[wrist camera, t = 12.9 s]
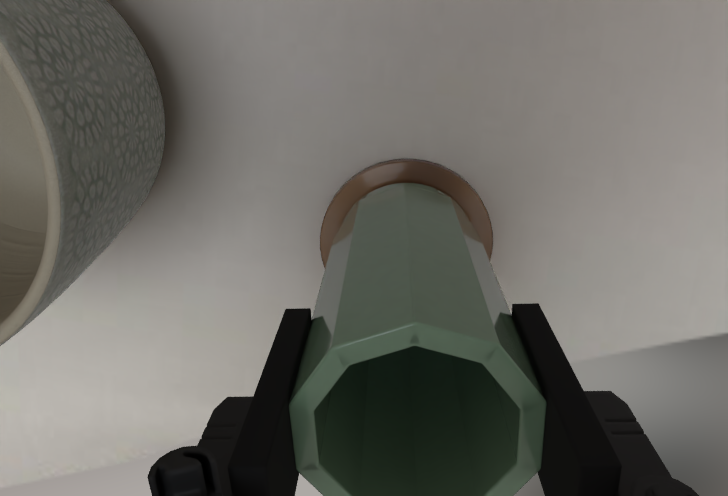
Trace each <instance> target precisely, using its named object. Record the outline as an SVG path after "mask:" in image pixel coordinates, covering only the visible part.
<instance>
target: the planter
mask: <svg viewBox="0 0 728 496" xmlns="http://www.w3.org/2000/svg"><path fill="white" fill-rule="evenodd" d="M164 140H165V117H164V108H163V102H162V97H161V92H160V88H159V85H158V82H157V79H156V76H155V73H154V70H153V68H152V65H151V63H150V61H149V59H148V57H147V55H146V53H145V51H144V49H143V47H142V45H141V44H140V42H139V40H138V39H137V37H136V36H135V34H134V33H133V31H132V30H131V28H130V27H129V26H128V24H127V23H126V22H125V20H124V19H123V18H122V17H121V16H120V14H119V13H118V12H117V11H116V10H115V9H114V8H113V7H112V6H111V5H110V4H109V3H108V2H107V1H106V0H0V346H1V345H2V344H4V343H5V342H6V341H7V340H9V339H10V338H11V337H13V336H14V335H15V334H17V333H18V332H19V331H20V330H22V329H23V328H24V327H25V326H26V325H28V324H29V323H30V322H31V321H32V320H34V319H35V318H36V317H37V316H38V315H39V314H40V313H41V312H42V311H44V310H45V309H46V308H47V307H48V306H49V305H50V304H51V303H52V302H53V301H54V300H55V299H57V298H58V297H59V296H60V295H61V294H62V293H63V292H64V291H65V290H66V289H67V288H68V287H69V286H70V285H71V284H72V283H73V282H74V281H75V280H76V279H77V278H78V277H79V276H80V275H81V274H82V273H83V272H84V271H85V270H86V269H87V268H88V267H89V266H90V265H91V264H92V262H93V261H94V260H95V259H96V258H97V257H98V256H99V255H100V254H101V253H102V252H103V251H104V250H105V249H106V248H107V247H108V246H109V245H110V244H111V242H112V241H113V240H114V239H115V238H116V237H117V236H118V234H119V233H120V232H121V231H122V230H123V229H124V227H125V226H126V225H127V224H128V223H129V221H130V220H131V219H132V217H133V216H134V215H135V213H136V212H137V210H138V209H139V208H140V206H141V205H142V203H143V202H144V200H145V199H146V197H147V195H148V194H149V192H150V190H151V188H152V186H153V184H154V181H155V179H156V176H157V174H158V171H159V167H160V164H161V160H162V154H163V149H164Z"/></svg>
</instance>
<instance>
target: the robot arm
mask: <svg viewBox="0 0 728 496" xmlns="http://www.w3.org/2000/svg"><path fill="white" fill-rule="evenodd" d="M512 317H513V320H514V322H515V325H516V327H517V330H518V332H519V335H520V337H521V340H522V342H523V345H524V347H525V350H526V352H527V354H528V357H529V359H530V362H531V364H532V367H533V369H534V372H535V374H536V377H537V379H538V382H539V384H540V387H541V389H542V391H543V394H544V396H545V399H546V402H547V407H546V419H545V430H544V442H543V453H542V464H541V469H540V470H539V471H538V475H539V478H540V481H541V484H542V488H543V491H544V494H545V496H699V495H698V494H697V493H696V492H695V491H694V490H692V488H690V487H689V486H687V485H685V484H684V483H682V482H680V481H678V480H676V479H673V478H672V477H671V475H670V473H669V472H668V470H667V469H666V467H665V465H664V464H663V462H662V460H661V459H660V457H659V455H658V454H657V452H656V451H655V449H654V447H653V446H652V444H651V442H650V441H649V439H648V437H647V436H646V435H645V434H644V431H643V429H642V428H641V426H640V424H639V423H638V422H636V418H635V416H634V415H633V413H632V411H631V410H630V408H629V407H628V405H627V404H626V403H625V402H624V401H623V400H621V399H620V398H619V397H617V396H616V395H615V394H614V393H612V392H611V391H583V389H582V387H581V385H580V383H579V381H578V379H577V378H576V376H575V374H574V372H573V370H572V368H571V366H570V364H569V362H568V360H567V358H566V356H565V354H564V352H563V350H562V348H561V346H560V344H559V343H558V341H557V339H556V337H555V335H554V333H553V331H552V329H551V327H550V325H549V323H548V321H547V319H546V317H545V315H544V313H543V312H542V310H541V308H540V306H539V304H512ZM310 324H311V310H310V308H309V309H286V310H285V312H284V315H283V318H282V320H281V323H280V326H279V329H278V331H277V334H276V337H275V339H274V342H273V345H272V348H271V350H270V353H269V356H268V358H267V361H266V364H265V367H264V369H263V372H262V375H261V377H260V380H259V383H258V386H257V388H256V391H255V394H254V397H227V398H226V399H225V400H224V401H223V402H222V403H220V404H219V405H218V406H217V407H216V408H215V409H214V410H213V413H212V415H211V417H210V419H209V421H208V423H207V427H206V428H205V430H204V432H203V434H202V439H200V441H199V443H198V445H197V446H188V447H182V448H179V449H176V450H173V451H170V452H169V453H167V454H165V455H164V456H162V457H161V458H159V459H158V460H157V461H156V463H155V464H154V465H153V466H152V467H151V469H150V472H149V474H148V481H149V485H150V489H151V493H152V496H295V491H296V486H297V481H298V476H299V472H298V471H297V470H296V465H295V457H294V448H293V440H292V432H291V423H290V415H289V407H288V405H289V402H290V398H291V394H292V390H293V387H294V383H295V379H296V376H297V372H298V368H299V364H300V361H301V357H302V353H303V350H304V346H305V342H306V338H307V335H308V331H309V327H310Z"/></svg>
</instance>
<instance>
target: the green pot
mask: <svg viewBox="0 0 728 496" xmlns="http://www.w3.org/2000/svg"><path fill="white" fill-rule="evenodd" d="M288 407H289V415H290V423H291V432H292V440H293V448H294V457H295V465H296V470H297V471H298V472H299V473H300V474H301V475H302V476H303V477H304V478H305V479H306V480H308V481H309V482H310V483H311V484H312V485H313V486H314V487H315V488H316V489H317V490H318V491H319V492H320V493H321V494H322V495H323V496H513V495H514V494H515V493H516V492H518V491H519V490H520V489H521V488H522V487H523V486H524V485H525V484H526V483H527V482H528V481H529V480H530V479H531V478H532V477H533V476H534V475H535V474H536V473H537V472H538V471H539V470H540V469H541V464H542V453H543V442H544V430H545V419H546V407H547V402H546V399H545V396H544V394H543V391H542V389H541V387H540V384H539V382H538V379H537V377H536V374H535V372H534V369H533V367H532V364H531V362H530V359H529V357H528V354H527V352H526V350H525V347H524V345H523V342H522V340H521V337H520V335H519V332H518V330H517V327H516V325H515V322H514V320H513V317H512V315H511V313H510V310H509V308H508V305H507V303H506V300H505V298H504V295H503V293H502V290H501V288H500V285H499V283H498V281H497V278H496V276H495V273H494V271H493V268H492V266H491V263H490V261H489V258H488V256H487V253H486V251H485V248H484V246H483V244H482V241H481V239H480V236H479V234H478V232H477V230H476V229H475V228H474V227H473V225H472V224H471V223H470V221H469V219H468V217H467V215H466V214H465V212H464V211H463V209H462V208H461V207H460V206H459V205H458V204H457V203H456V202H455V201H454V200H453V199H452V198H451V197H449V196H448V195H446V194H445V193H443V192H441V191H439V190H437V189H435V188H433V187H430V186H426V185H423V184H416V183H397V184H391V185H387V186H383V187H381V188H378V189H376V190H374V191H372V192H370V193H368V194H367V195H365V196H364V197H362V198H361V199H360V200H359V201H358V202H357V203H355V204H354V205H353V207H352V208H351V209H350V210H349V211H348V213H347V215H346V216H345V218H344V220H343V222H342V224H341V226H340V229H339V230H338V232H337V233H336V234H335V236H334V238H333V242H332V246H331V249H330V253H329V257H328V260H327V264H326V268H325V272H324V275H323V279H322V283H321V286H320V290H319V294H318V298H317V301H316V305H315V309H314V312H313V316H312V320H311V324H310V327H309V331H308V335H307V338H306V342H305V346H304V350H303V353H302V357H301V361H300V364H299V368H298V372H297V376H296V379H295V383H294V387H293V390H292V394H291V398H290V402H289V405H288Z"/></svg>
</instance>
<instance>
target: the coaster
mask: <svg viewBox="0 0 728 496" xmlns="http://www.w3.org/2000/svg"><path fill="white" fill-rule="evenodd" d="M397 183H416V184H423V185H426V186H430V187H433V188H435V189H437V190H439V191H441V192H443V193H445V194H446V195H448V196H449V197H451V198H452V199H453V200H454V201H455V202H456V203H457V204H458V205H459V206H460V207H461V208H462V209H463V211H464V212H465V214H466V215H467V217H468V219H469V221H470V223H471V224H472V225H473V227H474V228H475V229H476V230H477V232H478V234H479V236H480V239H481V241H482V244H483V246H484V248H485V251H486V253H487V256H488V258H489V261H490V258H491V254H492V246H493V234H492V227H491V222H490V219H489V216H488V213H487V211H486V209H485V207H484V205H483V203H482V201H481V199H480V197H479V196H478V194H477V193H476V192H475V190H474V189H473V188H472V187H471V186H470V185H469V184H468V183H467V182H466V181H465V180H464V179H463V178H461V177H460V176H459V175H457V174H456V173H454V172H453V171H451V170H449V169H447V168H445V167H443V166H440V165H438V164H435V163H431V162H428V161H422V160H416V159H399V160H391V161H387V162H382V163H379V164H376V165H374V166H371V167H369V168H367V169H365V170H363V171H361V172H359V173H358V174H357V175H355V176H354V177H352V178H351V179H350V180H349V181H348V182H347V183H345V184H344V185H343V186H342V187H341V189H340V190H339V191H338V192H337V194H336V195H335V196H334V198H333V199H332V201H331V203H330V204H329V207H328V209H327V211H326V214H325V216H324V220H323V224H322V227H321V235H320V250H321V256H322V261H323V264H324V267H325V268H326V264H327V260H328V257H329V253H330V249H331V246H332V242H333V238H334V236H335V234H336V233H337V232H338V230H339V229H340V226H341V224H342V222H343V220H344V218H345V216H346V215H347V213H348V211H349V210H350V209H351V208H352V207H353V205H354V204H355V203H357V202H358V201H359V200H360V199H361V198H362V197H364V196H365V195H367V194H368V193H370V192H372V191H374V190H376V189H378V188H381V187H383V186H387V185H391V184H397Z"/></svg>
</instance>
